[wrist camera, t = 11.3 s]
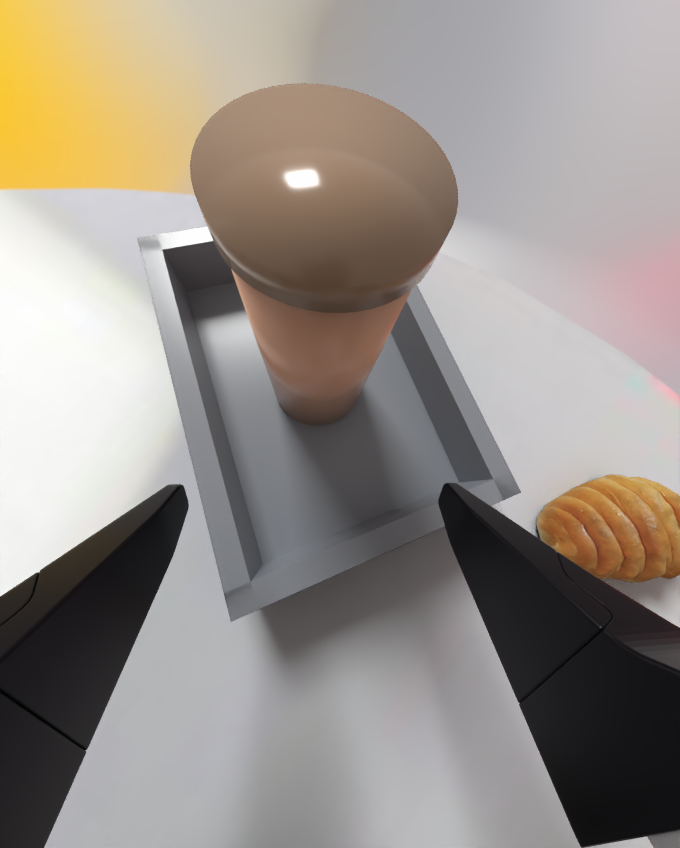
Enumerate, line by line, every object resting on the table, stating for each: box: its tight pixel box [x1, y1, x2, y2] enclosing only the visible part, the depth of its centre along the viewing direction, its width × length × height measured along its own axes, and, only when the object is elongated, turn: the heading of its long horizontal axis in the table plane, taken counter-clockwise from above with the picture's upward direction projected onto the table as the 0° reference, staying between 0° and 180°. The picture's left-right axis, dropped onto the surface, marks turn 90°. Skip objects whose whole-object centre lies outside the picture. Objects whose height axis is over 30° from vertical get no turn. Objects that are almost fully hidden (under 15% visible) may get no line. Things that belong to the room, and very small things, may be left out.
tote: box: [137, 227, 521, 622], centre depth 18 cm, size 22×16×4 cm
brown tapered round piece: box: [190, 83, 458, 426], centre depth 13 cm, size 6×6×13 cm
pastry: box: [536, 475, 680, 583], centre depth 18 cm, size 9×7×4 cm
